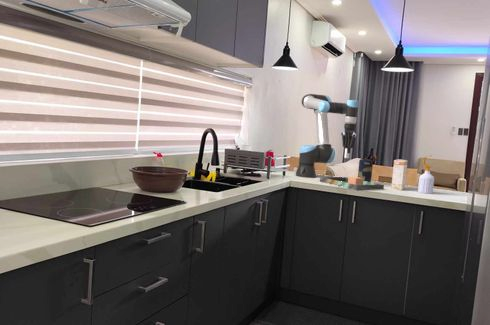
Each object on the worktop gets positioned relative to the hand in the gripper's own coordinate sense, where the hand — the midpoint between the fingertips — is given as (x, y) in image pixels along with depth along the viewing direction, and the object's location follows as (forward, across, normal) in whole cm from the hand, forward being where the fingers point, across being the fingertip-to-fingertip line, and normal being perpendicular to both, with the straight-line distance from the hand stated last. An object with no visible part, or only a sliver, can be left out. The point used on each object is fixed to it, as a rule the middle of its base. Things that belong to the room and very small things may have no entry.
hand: (346, 157), depth 293 cm
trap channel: (+18, +7, 0) cm, 19 cm away
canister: (+18, -3, +23) cm, 29 cm away
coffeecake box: (+18, +22, +29) cm, 40 cm away
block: (+18, +10, 0) cm, 21 cm away
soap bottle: (+18, +38, +36) cm, 55 cm away
